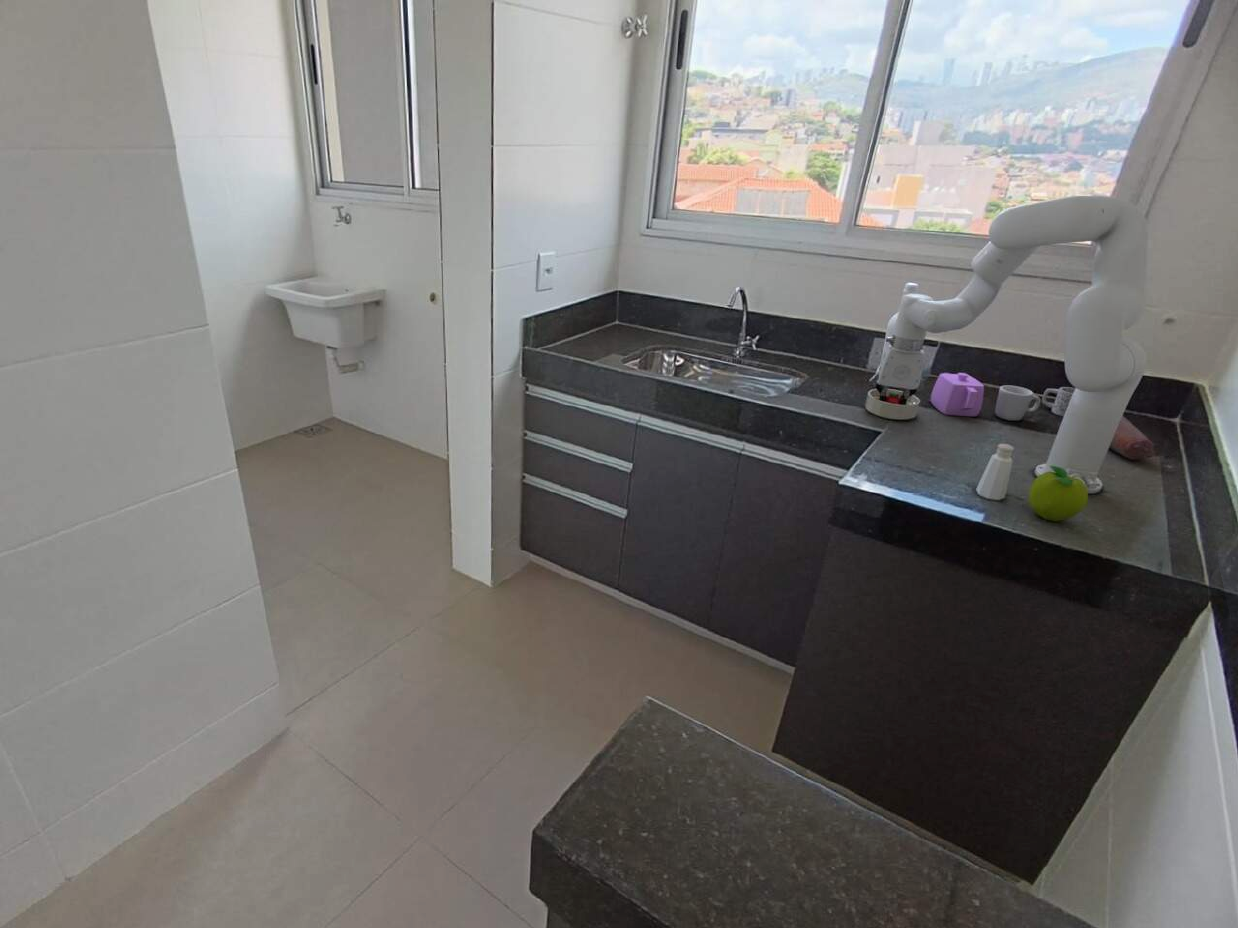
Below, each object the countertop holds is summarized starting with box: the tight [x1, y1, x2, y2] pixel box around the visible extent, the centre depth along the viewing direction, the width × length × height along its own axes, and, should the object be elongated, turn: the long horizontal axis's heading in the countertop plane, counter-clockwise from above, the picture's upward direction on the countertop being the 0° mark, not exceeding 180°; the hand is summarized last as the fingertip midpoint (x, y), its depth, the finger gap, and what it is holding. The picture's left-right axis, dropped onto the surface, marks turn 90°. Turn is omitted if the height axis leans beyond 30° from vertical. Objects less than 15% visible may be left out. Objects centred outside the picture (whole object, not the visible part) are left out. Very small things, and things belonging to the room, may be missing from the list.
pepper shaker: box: [975, 443, 1015, 501], centre depth 134 cm, size 5×5×11 cm
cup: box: [994, 384, 1041, 422], centre depth 177 cm, size 11×8×8 cm
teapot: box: [930, 372, 985, 417], centre depth 181 cm, size 18×10×10 cm, turn 178°
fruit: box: [1028, 466, 1089, 522], centre depth 126 cm, size 9×9×10 cm
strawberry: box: [886, 392, 900, 405], centre depth 176 cm, size 4×4×5 cm
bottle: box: [875, 282, 919, 386], centre depth 194 cm, size 8×8×30 cm
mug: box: [1041, 386, 1076, 418], centre depth 184 cm, size 10×7×7 cm, turn 42°
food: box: [1109, 415, 1156, 461], centre depth 162 cm, size 21×9×9 cm, turn 1°
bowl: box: [864, 388, 921, 421], centre depth 176 cm, size 13×13×4 cm
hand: (890, 409), depth 177 cm, fingers closed on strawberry, 4 cm apart
